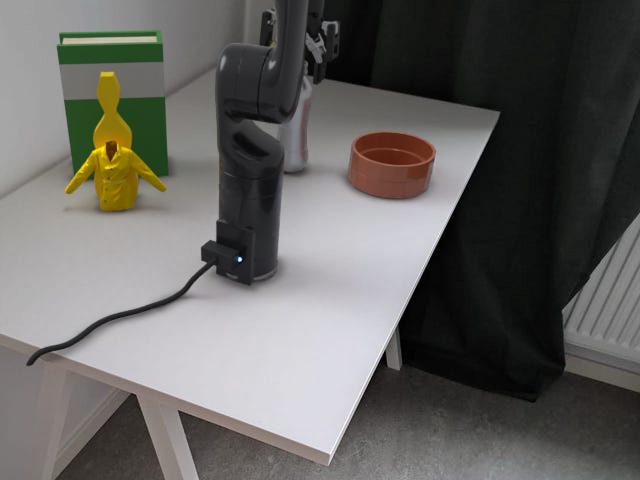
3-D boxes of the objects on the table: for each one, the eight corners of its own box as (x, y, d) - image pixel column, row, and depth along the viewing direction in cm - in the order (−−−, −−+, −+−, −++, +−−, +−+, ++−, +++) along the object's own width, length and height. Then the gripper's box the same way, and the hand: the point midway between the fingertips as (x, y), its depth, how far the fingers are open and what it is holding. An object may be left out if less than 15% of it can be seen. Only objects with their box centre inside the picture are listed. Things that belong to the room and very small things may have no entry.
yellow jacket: (65, 214, 125) (46, 87, 111) (70, 193, 131) (52, 70, 117) (168, 212, 126) (162, 86, 112) (168, 191, 132) (162, 68, 118)
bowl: (424, 205, 129) (432, 171, 125) (341, 192, 132) (345, 159, 128) (432, 169, 140) (439, 137, 136) (354, 158, 143) (359, 126, 139)
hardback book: (74, 179, 135) (56, 46, 120) (76, 161, 141) (59, 32, 125) (168, 175, 137) (162, 43, 121) (166, 158, 142) (160, 30, 127)
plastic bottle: (304, 177, 137) (314, 70, 124) (269, 174, 138) (275, 67, 125) (308, 163, 141) (318, 58, 128) (274, 159, 142) (281, 55, 129)
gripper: (254, -24, 118) (250, 76, 129) (332, -11, 112) (322, 93, 123) (276, -33, 123) (271, 65, 134) (353, -21, 117) (341, 80, 128)
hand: (295, 78), depth 128 cm, fingers open, 8 cm apart
